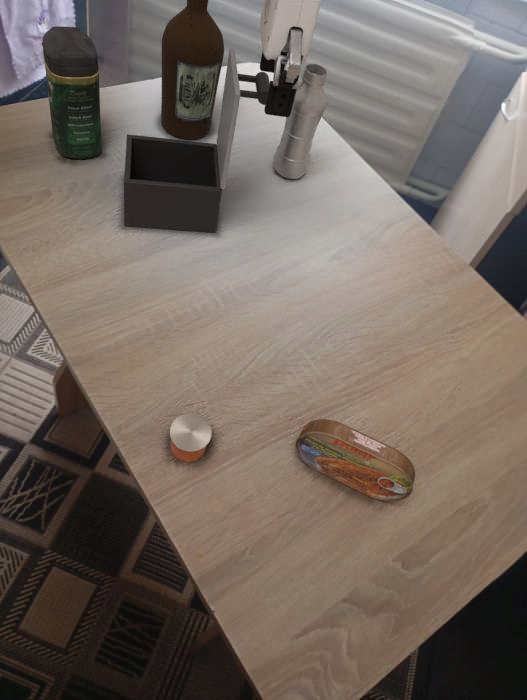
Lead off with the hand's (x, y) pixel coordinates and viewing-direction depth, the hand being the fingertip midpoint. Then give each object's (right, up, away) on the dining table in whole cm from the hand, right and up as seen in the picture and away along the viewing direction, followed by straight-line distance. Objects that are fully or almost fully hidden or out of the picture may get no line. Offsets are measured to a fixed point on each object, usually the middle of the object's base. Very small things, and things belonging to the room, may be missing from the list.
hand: (273, 92), depth 72 cm
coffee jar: (-34, +3, +28) cm, 44 cm away
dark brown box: (-17, -9, +23) cm, 30 cm away
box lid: (-7, +1, +11) cm, 13 cm away
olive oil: (-16, +10, +37) cm, 41 cm away
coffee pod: (-11, -45, -1) cm, 46 cm away
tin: (+9, -49, +1) cm, 50 cm away
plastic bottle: (+3, 0, +35) cm, 35 cm away
